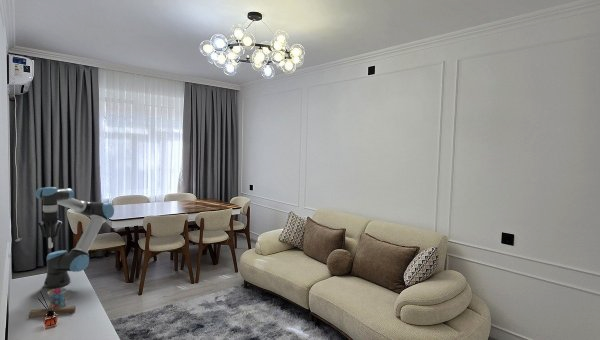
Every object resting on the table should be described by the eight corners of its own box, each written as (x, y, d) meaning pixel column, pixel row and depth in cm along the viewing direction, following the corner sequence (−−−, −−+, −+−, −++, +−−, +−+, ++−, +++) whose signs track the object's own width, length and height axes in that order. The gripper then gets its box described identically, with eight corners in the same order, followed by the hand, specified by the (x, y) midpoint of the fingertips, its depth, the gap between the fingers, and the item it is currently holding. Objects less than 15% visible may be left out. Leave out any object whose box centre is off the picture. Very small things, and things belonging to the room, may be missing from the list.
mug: (50, 313, 192) (49, 295, 191) (45, 308, 198) (45, 291, 197) (74, 306, 201) (73, 289, 200) (69, 301, 207) (68, 285, 206)
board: (31, 314, 189) (31, 309, 189) (75, 310, 195) (75, 305, 195) (29, 317, 187) (29, 312, 186) (73, 313, 192) (73, 308, 192)
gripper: (35, 212, 205) (35, 249, 206) (59, 212, 208) (59, 248, 209) (41, 210, 212) (41, 246, 213) (64, 210, 215) (64, 245, 217)
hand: (50, 247), depth 211 cm, fingers closed
